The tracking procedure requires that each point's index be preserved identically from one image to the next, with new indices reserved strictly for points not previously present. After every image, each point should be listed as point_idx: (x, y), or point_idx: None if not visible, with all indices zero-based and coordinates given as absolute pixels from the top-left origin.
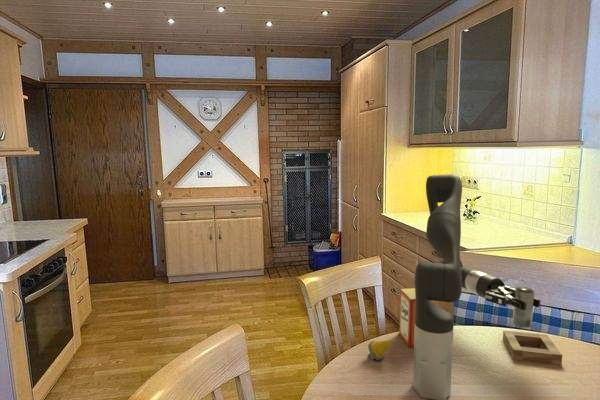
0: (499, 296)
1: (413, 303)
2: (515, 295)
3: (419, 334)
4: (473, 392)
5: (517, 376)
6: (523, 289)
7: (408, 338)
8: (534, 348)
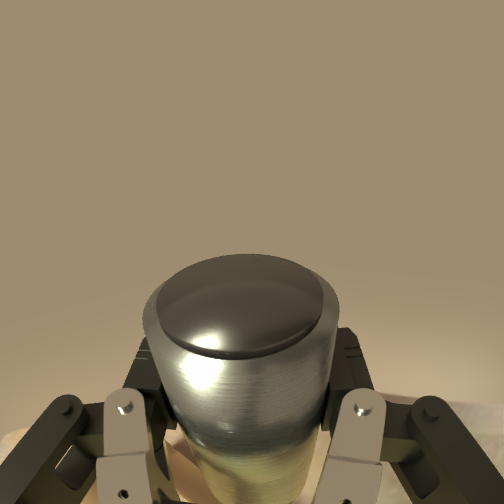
0: (466, 434)
1: None
2: (328, 374)
3: None
4: (490, 409)
5: None
6: (261, 289)
7: None
8: (193, 497)
